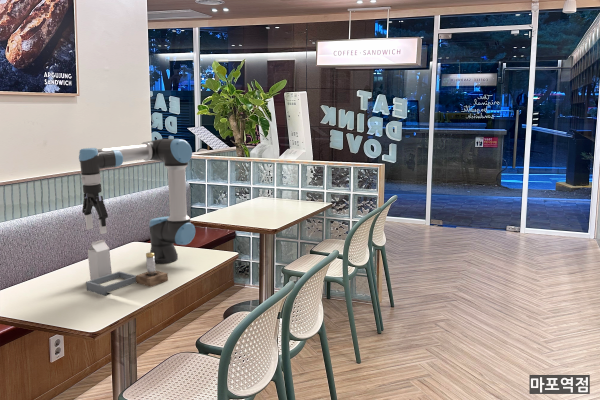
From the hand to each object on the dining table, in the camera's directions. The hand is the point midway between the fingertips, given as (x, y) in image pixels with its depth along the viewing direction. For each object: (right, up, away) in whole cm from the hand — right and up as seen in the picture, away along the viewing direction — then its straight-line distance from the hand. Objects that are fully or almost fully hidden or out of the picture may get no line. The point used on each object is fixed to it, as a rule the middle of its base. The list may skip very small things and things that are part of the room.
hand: (96, 231), depth 241 cm
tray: (+4, -26, +9) cm, 28 cm away
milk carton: (-6, -25, +21) cm, 33 cm away
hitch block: (+22, -25, +11) cm, 35 cm away
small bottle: (+22, -24, +11) cm, 34 cm away
